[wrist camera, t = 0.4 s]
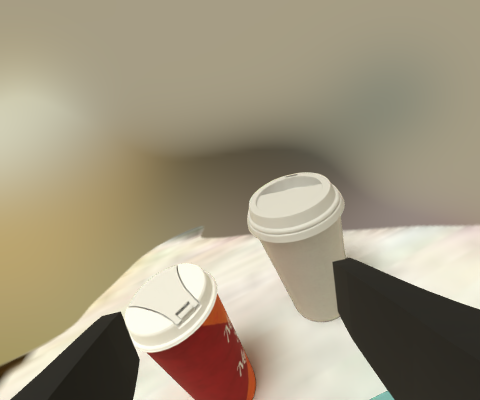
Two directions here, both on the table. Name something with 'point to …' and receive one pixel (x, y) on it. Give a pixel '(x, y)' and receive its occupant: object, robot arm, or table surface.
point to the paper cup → (190, 334)
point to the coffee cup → (302, 238)
